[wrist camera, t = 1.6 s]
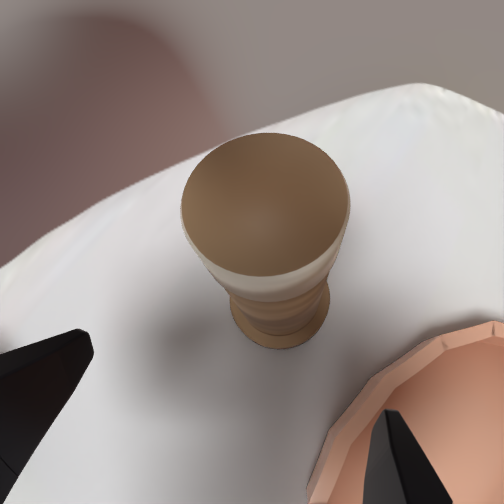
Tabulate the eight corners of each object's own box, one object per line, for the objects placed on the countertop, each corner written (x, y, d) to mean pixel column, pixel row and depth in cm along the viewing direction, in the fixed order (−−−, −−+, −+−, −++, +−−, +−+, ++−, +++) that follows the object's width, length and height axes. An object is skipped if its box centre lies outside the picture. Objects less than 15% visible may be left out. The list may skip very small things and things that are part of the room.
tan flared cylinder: (286, 368, 19) (279, 351, 8) (213, 308, 22) (123, 214, 10) (346, 293, 21) (405, 180, 9) (273, 240, 23) (252, 97, 11)
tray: (436, 605, 8) (447, 620, 5) (239, 517, 15) (231, 535, 13) (579, 406, 13) (600, 404, 10) (435, 274, 20) (453, 259, 18)
